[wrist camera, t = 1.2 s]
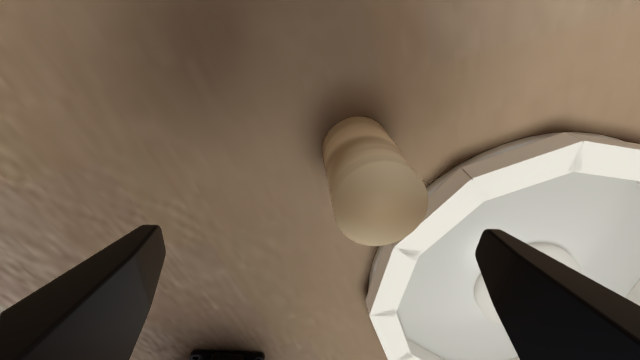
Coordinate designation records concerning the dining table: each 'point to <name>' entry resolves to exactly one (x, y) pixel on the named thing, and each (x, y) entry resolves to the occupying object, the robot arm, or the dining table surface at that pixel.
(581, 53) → the dining table surface
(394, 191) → the tan rounded cylinder
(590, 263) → the ring tray
